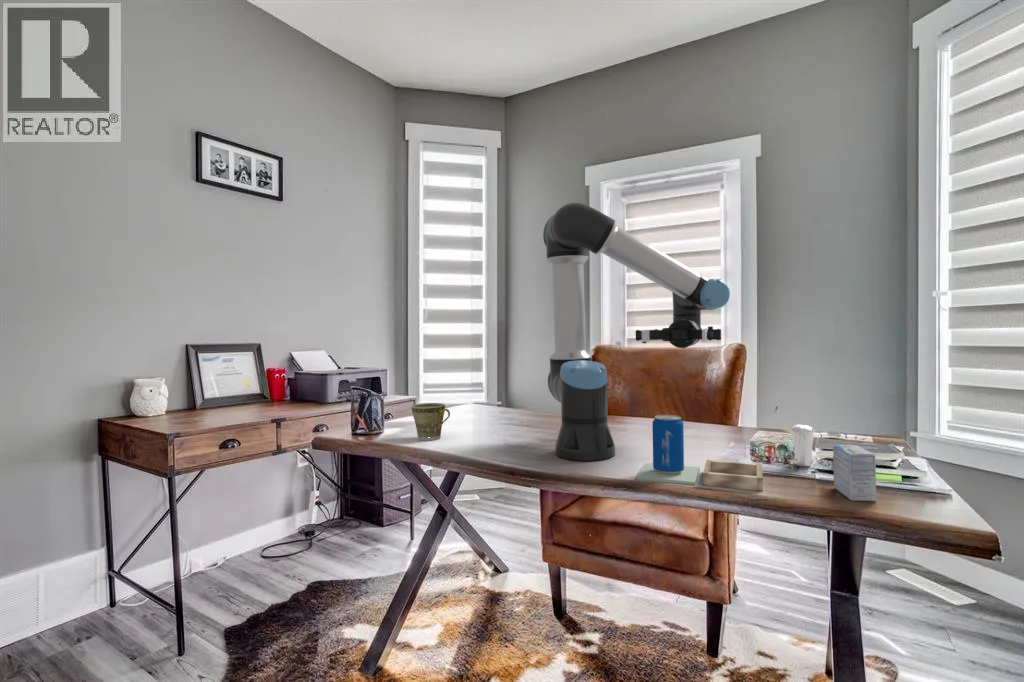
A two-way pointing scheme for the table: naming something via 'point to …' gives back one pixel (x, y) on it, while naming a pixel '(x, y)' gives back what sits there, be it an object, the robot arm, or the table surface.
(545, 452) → the table surface
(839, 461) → the medicine box
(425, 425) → the ceramic cup
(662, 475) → the mat
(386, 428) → the table surface
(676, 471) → the beverage can
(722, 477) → the crate
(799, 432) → the milkshake
